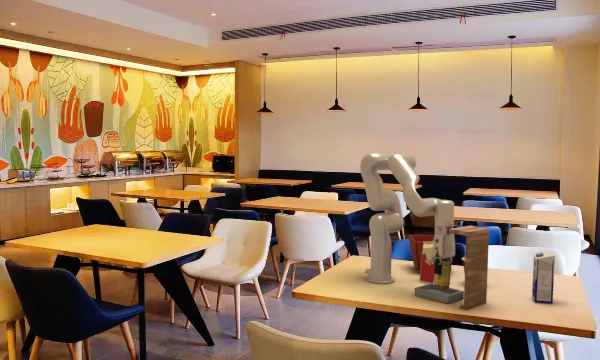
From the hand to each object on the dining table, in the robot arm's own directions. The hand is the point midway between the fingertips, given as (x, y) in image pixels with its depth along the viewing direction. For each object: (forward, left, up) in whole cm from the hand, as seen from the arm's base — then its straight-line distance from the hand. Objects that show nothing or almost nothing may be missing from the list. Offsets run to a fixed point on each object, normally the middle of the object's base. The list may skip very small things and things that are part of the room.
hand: (442, 272), depth 216 cm
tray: (-2, 0, -11) cm, 11 cm away
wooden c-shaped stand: (+11, +1, -11) cm, 15 cm away
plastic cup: (-2, +29, -11) cm, 31 cm away
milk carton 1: (-18, +19, -11) cm, 28 cm away
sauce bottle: (0, 0, -7) cm, 7 cm away
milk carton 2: (+29, +29, -11) cm, 42 cm away
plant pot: (-30, +36, -11) cm, 48 cm away
